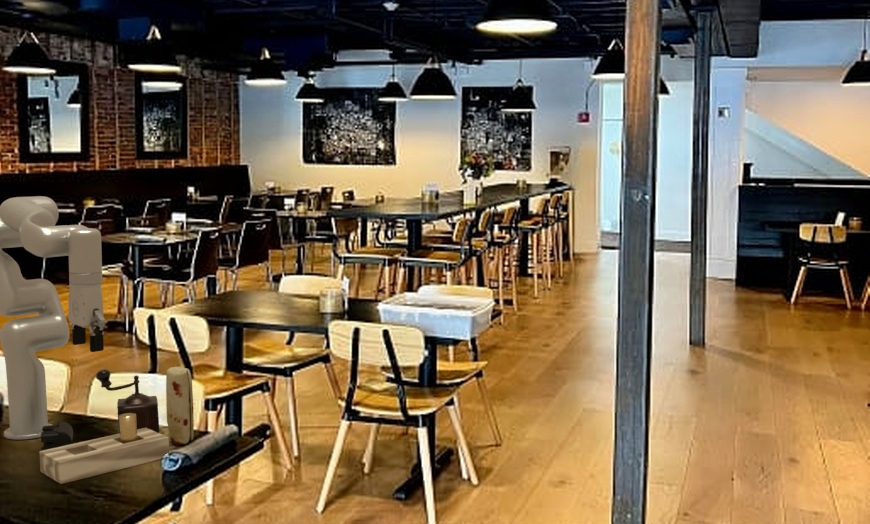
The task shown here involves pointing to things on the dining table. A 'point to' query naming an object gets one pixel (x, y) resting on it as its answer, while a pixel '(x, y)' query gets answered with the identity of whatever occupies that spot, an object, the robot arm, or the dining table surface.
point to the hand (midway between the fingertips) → (87, 347)
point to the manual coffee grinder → (134, 403)
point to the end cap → (56, 435)
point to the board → (102, 455)
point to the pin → (128, 427)
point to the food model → (179, 405)
